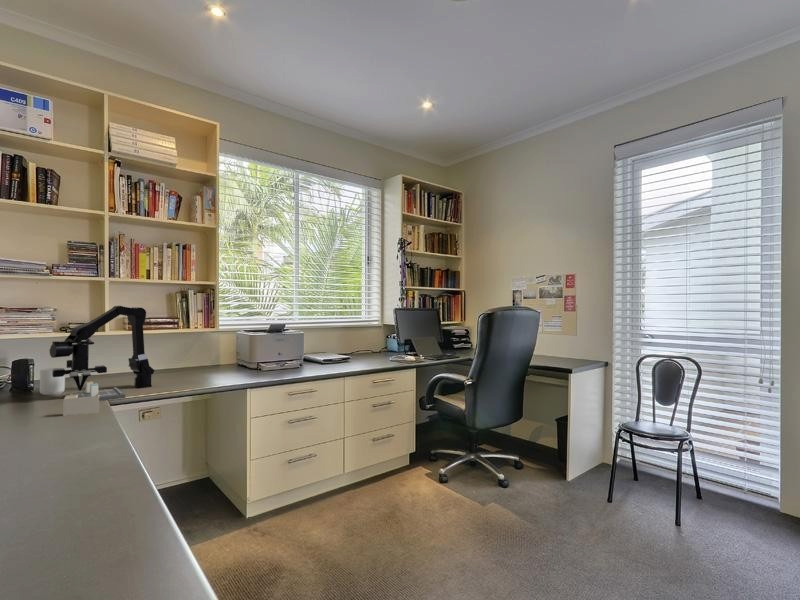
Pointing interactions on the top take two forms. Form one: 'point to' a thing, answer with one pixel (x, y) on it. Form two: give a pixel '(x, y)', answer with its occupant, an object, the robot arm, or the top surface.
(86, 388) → the grey rectangular block
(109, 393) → the console
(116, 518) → the top surface
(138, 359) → the robot arm
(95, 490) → the top surface
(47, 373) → the mug
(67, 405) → the model
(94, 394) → the fader teal
